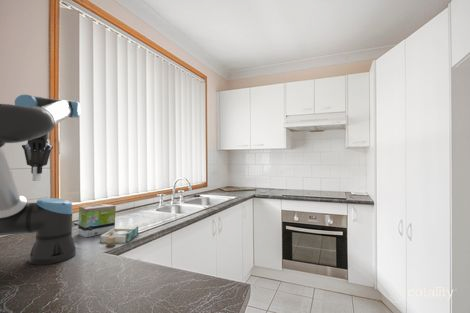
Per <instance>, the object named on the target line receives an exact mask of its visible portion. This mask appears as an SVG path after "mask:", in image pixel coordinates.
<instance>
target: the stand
mask: <svg viewBox="0 0 470 313" xmlns="http://www.w3.org/2000/svg"><path fill="white" fill-rule="evenodd" d="M105 243H106V245H105V246H106V247H107V248H112V247H115V246H116V243H115V237H108V238H107V241H106V242H105Z"/></svg>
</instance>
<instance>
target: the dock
mask: <svg viewBox="0 0 470 313" xmlns="http://www.w3.org/2000/svg"><path fill="white" fill-rule="evenodd" d="M133 229H134V228H131V227H130V228H129V227H128V228H127V227H125V228H121V227H115V228H113V229H112V230H110V231H108V232H106V233H105V234H100V235H99V243H106V241H107V238H108V237H115V244H116V243H117V244H119V243H120V244H121V243H123V244H126V243H127V242H126V236H107V235H108V234H110V233H112V232H113V231H131V230H133Z"/></svg>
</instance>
